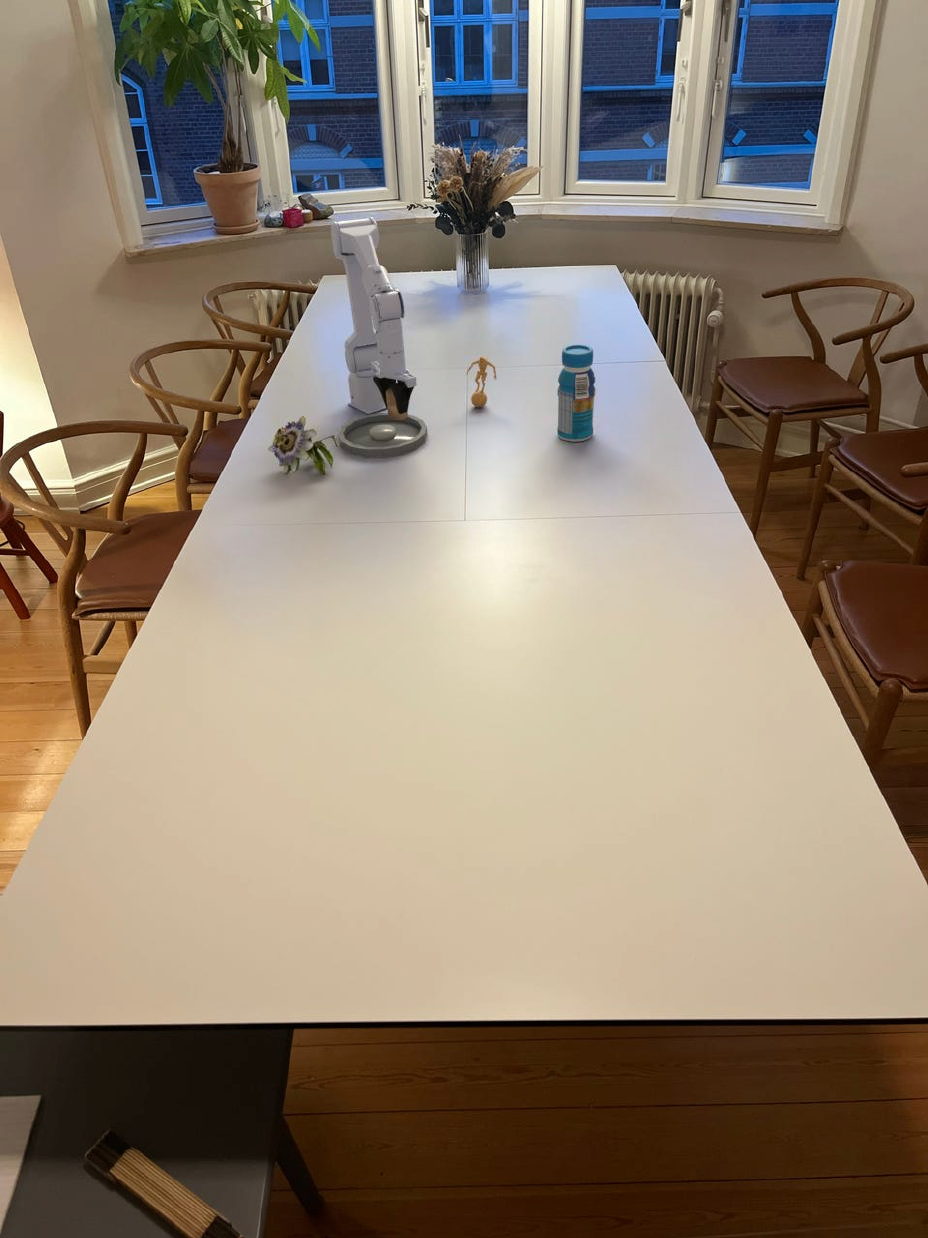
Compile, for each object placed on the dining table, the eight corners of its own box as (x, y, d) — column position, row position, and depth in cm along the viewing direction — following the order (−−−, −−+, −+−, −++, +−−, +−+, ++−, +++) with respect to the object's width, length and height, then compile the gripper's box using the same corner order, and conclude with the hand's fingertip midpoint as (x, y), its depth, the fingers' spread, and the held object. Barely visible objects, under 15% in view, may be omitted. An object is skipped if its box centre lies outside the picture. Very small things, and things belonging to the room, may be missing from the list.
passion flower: (292, 497, 196) (253, 448, 192) (327, 466, 202) (289, 419, 198) (318, 481, 186) (276, 430, 182) (354, 450, 192) (314, 400, 188)
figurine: (461, 406, 218) (458, 359, 211) (473, 398, 222) (471, 351, 215) (490, 412, 214) (488, 364, 207) (501, 403, 218) (500, 356, 211)
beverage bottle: (550, 439, 200) (552, 353, 188) (565, 425, 206) (566, 340, 194) (585, 445, 197) (588, 357, 185) (598, 430, 202) (603, 345, 191)
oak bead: (384, 416, 198) (381, 390, 194) (399, 410, 200) (397, 385, 197) (396, 421, 195) (394, 395, 192) (411, 415, 197) (409, 389, 194)
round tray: (323, 437, 206) (322, 429, 205) (394, 413, 216) (393, 405, 215) (371, 465, 193) (370, 457, 192) (444, 438, 203) (443, 430, 202)
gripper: (357, 346, 191) (364, 405, 199) (395, 362, 182) (400, 423, 190) (383, 338, 195) (389, 397, 203) (422, 354, 185) (426, 414, 193)
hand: (396, 409), depth 197 cm, fingers closed on oak bead, 4 cm apart
